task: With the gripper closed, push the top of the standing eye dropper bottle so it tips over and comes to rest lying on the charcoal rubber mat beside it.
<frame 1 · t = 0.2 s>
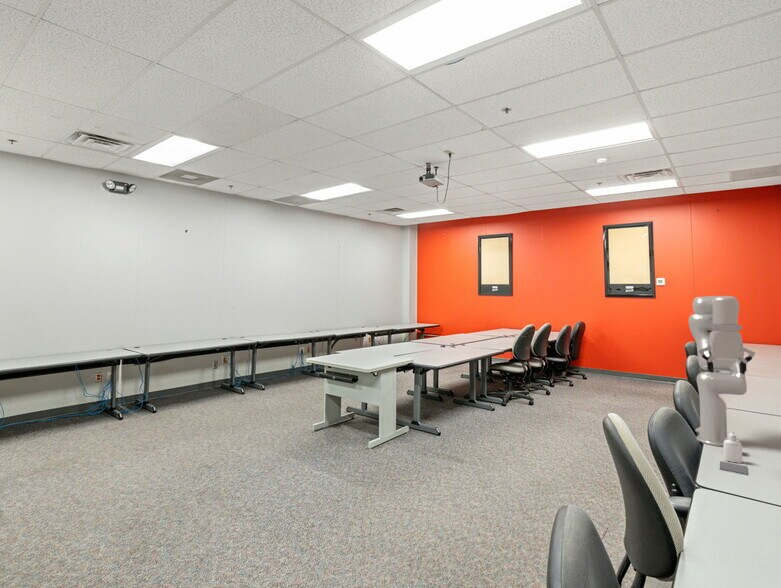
hand: (726, 372, 158), 36 cm above the table, tool pointing down, fingers open, 9 cm apart
eye dropper bottle: (733, 461, 163), on the table
mat: (733, 468, 156), on the table
oak cube: (732, 453, 172), on the table
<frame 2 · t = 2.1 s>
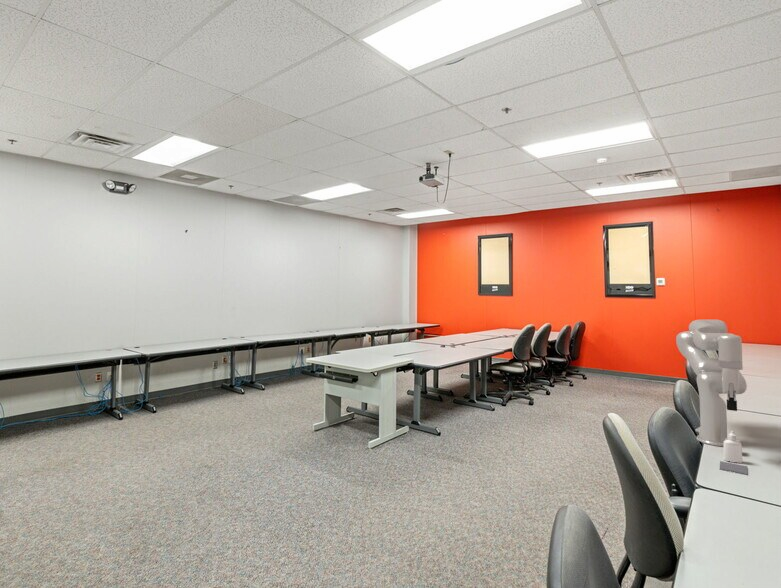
hand: (732, 409, 167), 19 cm above the table, tool pointing down, fingers closed
nothing on the table moved.
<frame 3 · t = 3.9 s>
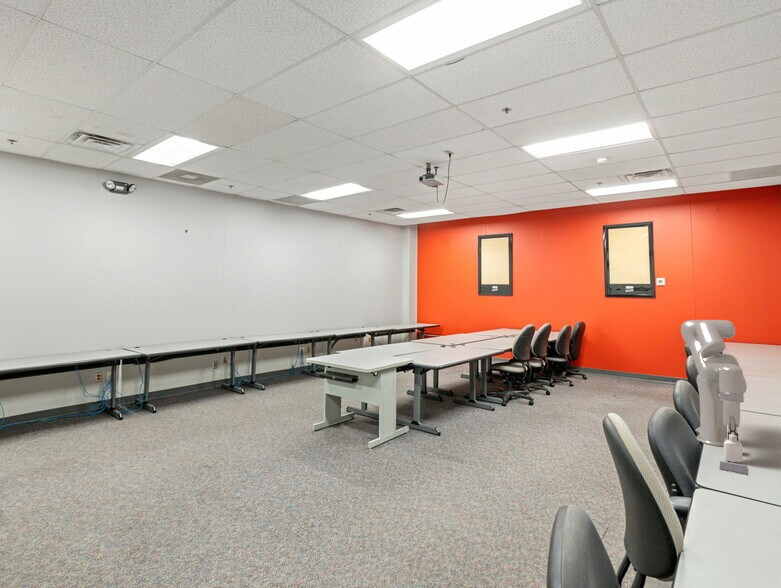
hand: (733, 442, 165), 7 cm above the table, tool pointing down, fingers closed
eye dropper bottle: (733, 461, 163), on the table, touching gripper
everything else where it was.
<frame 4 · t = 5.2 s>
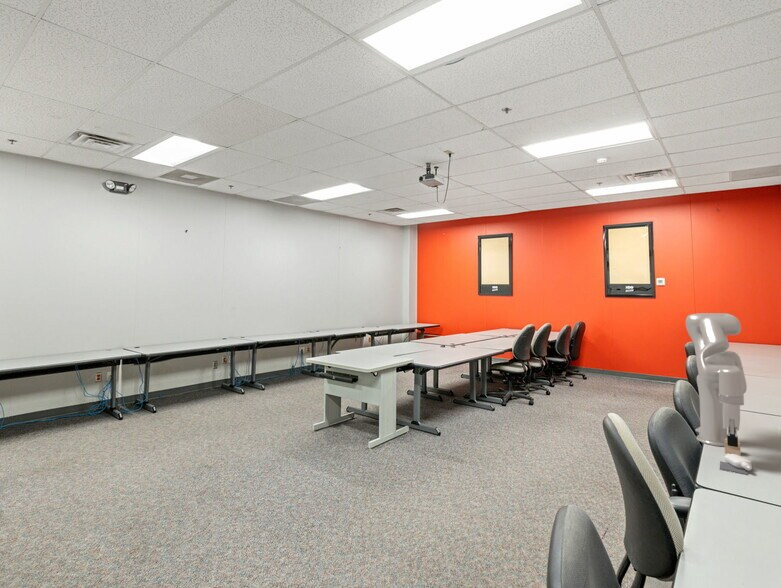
hand: (732, 445, 162), 7 cm above the table, tool pointing down, fingers closed
eye dropper bottle: (731, 457, 162), point 2 cm above the table, touching mat
everything else where it was.
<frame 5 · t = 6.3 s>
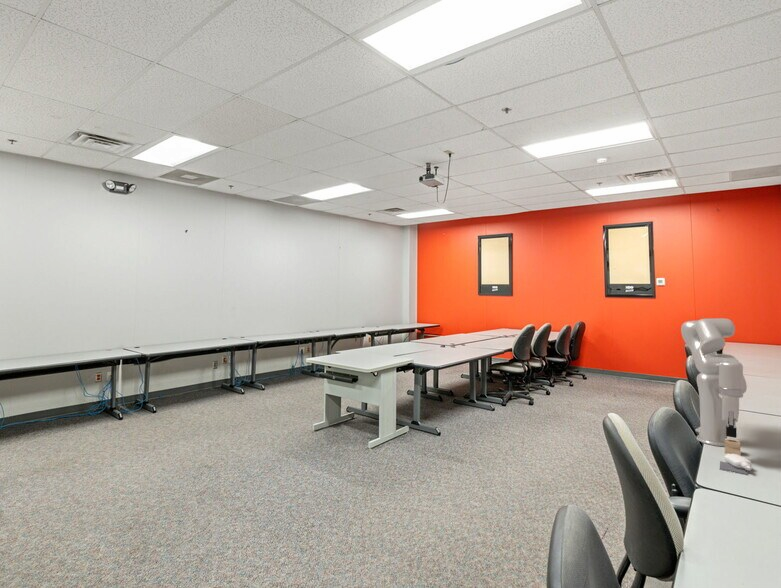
hand: (731, 436, 166), 9 cm above the table, tool pointing down, fingers closed
nothing on the table moved.
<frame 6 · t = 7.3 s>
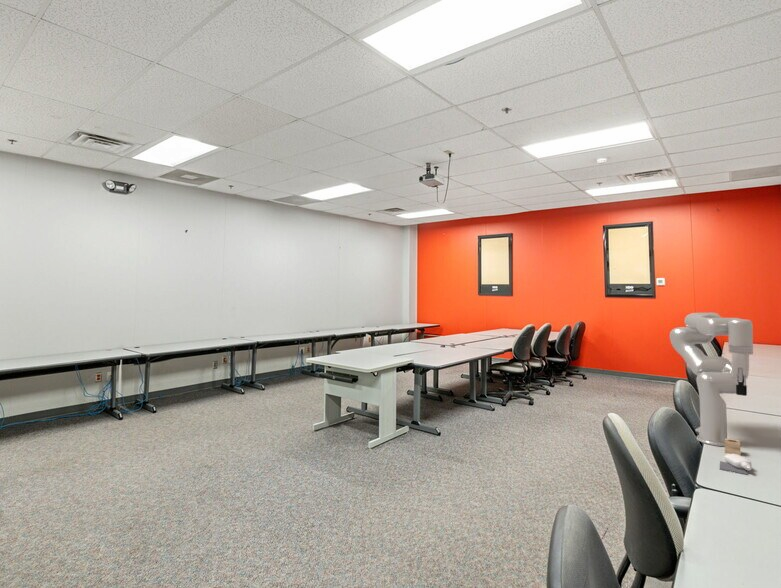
hand: (741, 394, 166), 26 cm above the table, tool pointing down, fingers closed
nothing on the table moved.
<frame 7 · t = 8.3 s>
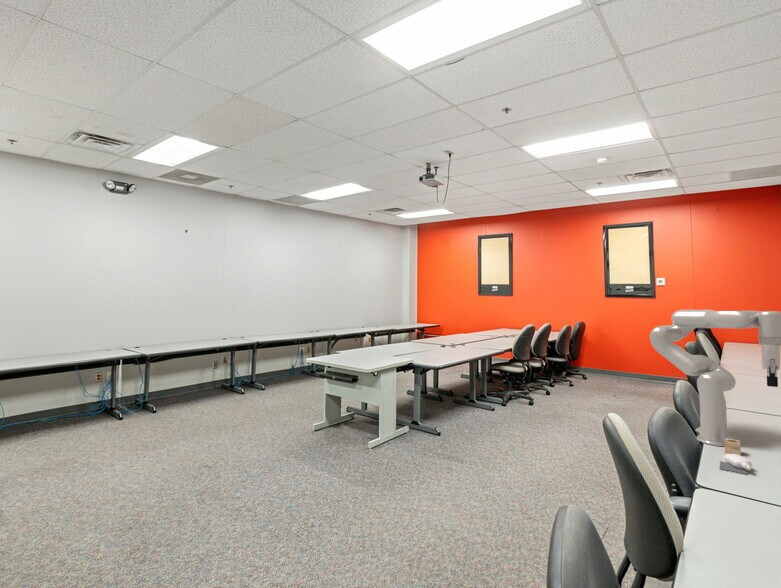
hand: (772, 386, 166), 29 cm above the table, tool pointing down, fingers closed
nothing on the table moved.
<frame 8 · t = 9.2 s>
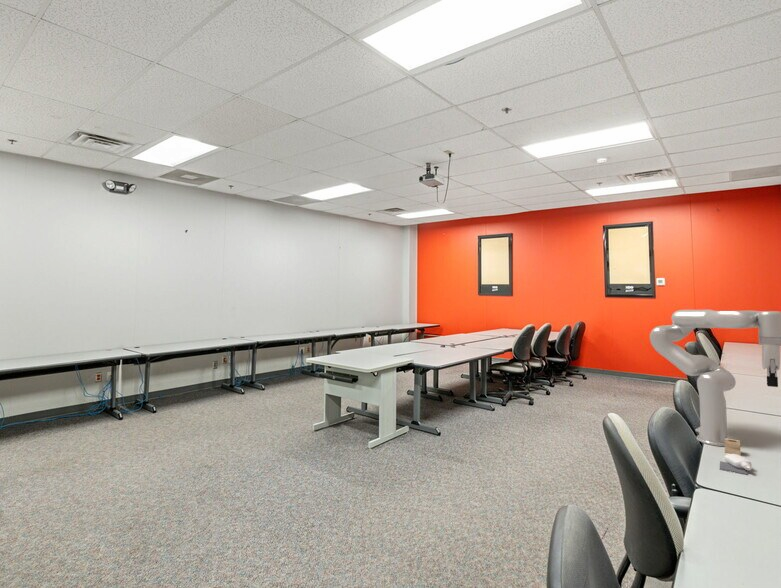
hand: (772, 386, 166), 29 cm above the table, tool pointing down, fingers closed
nothing on the table moved.
at the end: eye dropper bottle tilted 87°; eye dropper bottle inside the target area (4.3 cm from its centre), point 1.7 cm above the table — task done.
